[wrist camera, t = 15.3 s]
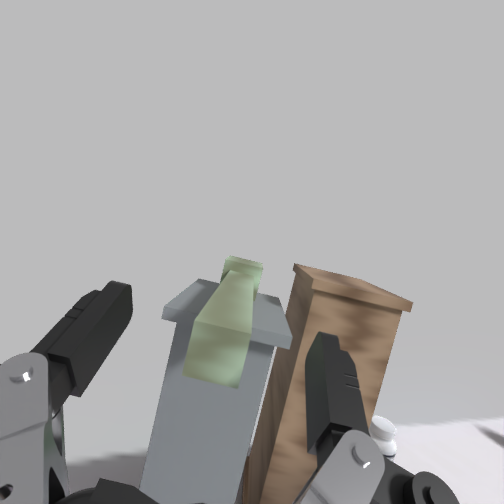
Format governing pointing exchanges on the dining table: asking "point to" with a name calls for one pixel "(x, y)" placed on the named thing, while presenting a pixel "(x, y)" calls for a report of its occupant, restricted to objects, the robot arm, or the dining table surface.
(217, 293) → the peg
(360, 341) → the walnut stand
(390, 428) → the pill bottle
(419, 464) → the dining table surface
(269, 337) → the grey stand
